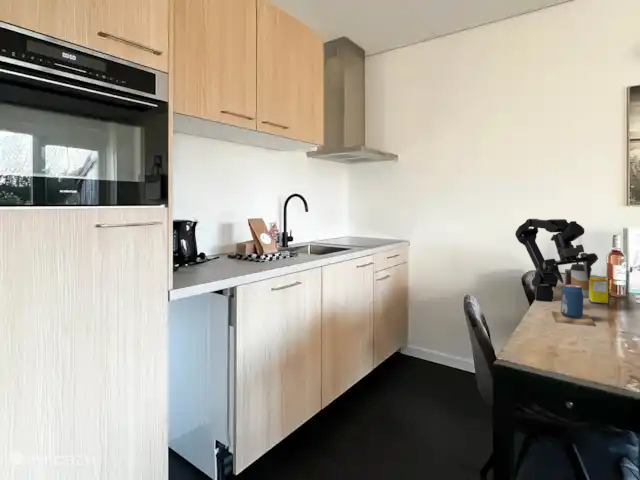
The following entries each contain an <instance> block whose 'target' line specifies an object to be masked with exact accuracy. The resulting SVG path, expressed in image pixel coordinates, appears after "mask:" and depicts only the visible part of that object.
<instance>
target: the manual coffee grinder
mask: <svg viewBox="0 0 640 480" xmlns="http://www.w3.org/2000/svg"><path fill="white" fill-rule="evenodd" d="M579 254H580V255H579V256H580V257H579V256H578V257H576V258H581V257H583V256H584V254H588V253H587V252H581V253H579ZM576 264H582V262H579V263H576ZM565 284H571V268H565V269H564V285H565Z"/></svg>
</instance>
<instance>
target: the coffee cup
mask: <svg viewBox="0 0 640 480" xmlns="http://www.w3.org/2000/svg"><path fill="white" fill-rule="evenodd" d="M583 265H584V263H579V264H577V263H572V264H571V266H570V269H571V284H574V285H580V286H582V289H583V291H584V296H583V299H585V298H587V299H588V297H589V280H588V279H587V277H586V274H585V270H584V267H583ZM591 275H592V267H591V269H590V277H591Z"/></svg>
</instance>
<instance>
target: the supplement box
mask: <svg viewBox="0 0 640 480" xmlns="http://www.w3.org/2000/svg"><path fill="white" fill-rule="evenodd" d="M608 300H609V279H608V278H606V277H590V280H589V293H588V302H589V303H591V304H594V305H595V304H597V305H608V302H609V301H608Z"/></svg>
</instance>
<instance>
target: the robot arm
mask: <svg viewBox="0 0 640 480" xmlns="http://www.w3.org/2000/svg"><path fill="white" fill-rule="evenodd" d="M539 229H544V230H545V231H546V232H549V233H555V234H552V236H551V237H550V241H552V242H553V241H554V245H555V247H556V250H557V251H556V252H557V254H558V257H559V260H556V259H555V258H549V259H548V258H547V259H545V258H544V256H543V254H542V251H541V250H540V248H539V246H538V244H537V242H536V240H537V237H538V236H537V234H538V233H539ZM584 234H585V228H584V227H583V226H582V225H581V224H579V223H578V221H575V220H573V221H572V220H571V221H570V222H569V221H568V220H567V219H564V218H555V219H554V218H553V219H552V218H551V219H539V218H528V219H526V221H525V222H524V223H522V224H521V225H520V226H518V227H517V229H516V230H515V237H516V239H517V240H518V243H520V244H522V245H523V246H524V247H525V249H526V251H527V253H528V255H529V257H530V259H531V262H532V263H533V266H534V267H535V271H534V272H535V273H534V277H533V279H531V286H533V287H535V296H534V298H535V301H542V302H553V300H554V294H555V293H554V290H553V288H556V287H557V285H558V281H560V283H562V284H564V279H563V277H562V274H561V272H560V269H559V266H563V265H572V264H577V263H579V262H581V263H582V264H584V265H583V267H584V270H585V274H586V277H587V279H588V280H590V269H591V268H592V266H593V265H594V264H595V263H596V262H597V261H598V260H599V256H598V255H597V253H594V252H592V253H587V254H584V256H583V257H579V256H580V254H581V253H585V249H584V245H583V244H576V245H575V246H574V244H573V242H574V241H575V240H577V239H579V238H581V237H582V236H583V235H584ZM576 257H579V258H576ZM579 264H580V263H579Z"/></svg>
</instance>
